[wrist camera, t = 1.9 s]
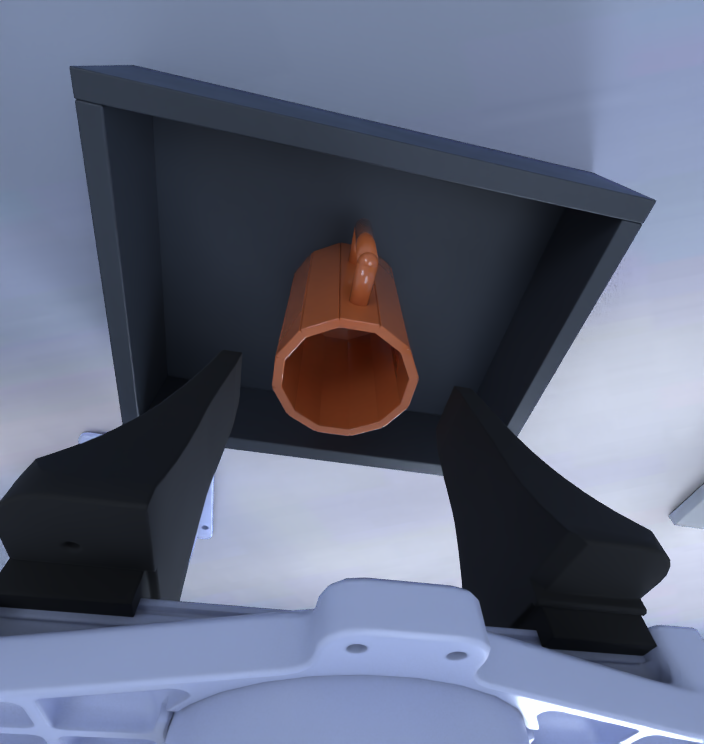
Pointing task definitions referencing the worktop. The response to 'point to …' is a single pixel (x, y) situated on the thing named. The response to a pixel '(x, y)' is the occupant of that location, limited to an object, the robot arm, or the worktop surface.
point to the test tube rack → (690, 511)
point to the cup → (345, 341)
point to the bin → (325, 228)
